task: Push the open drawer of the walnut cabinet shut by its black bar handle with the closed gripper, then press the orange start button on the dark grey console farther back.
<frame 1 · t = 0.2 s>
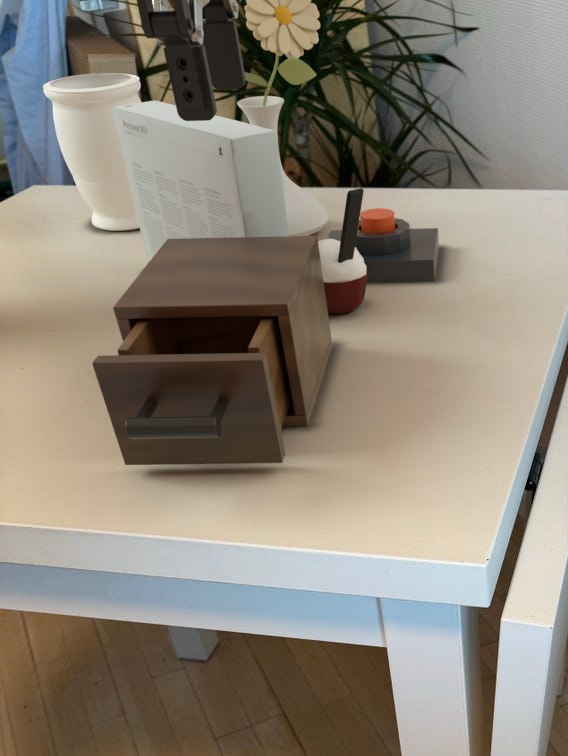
hand: (215, 103, 57), 22 cm above the table, tool pointing down, fingers open, 8 cm apart
start button: (377, 222, 95), point 4 cm above the table, slide at 0.1 cm
cocoa: (340, 311, 89), on the table
console: (381, 265, 98), on the table
flower in vase: (289, 235, 107), on the table
drawer: (206, 384, 67), point 5 cm above the table, slide at 6.0 cm
skincare box: (223, 291, 94), on the table
jar: (128, 222, 112), on the table
cabinet: (247, 384, 77), on the table
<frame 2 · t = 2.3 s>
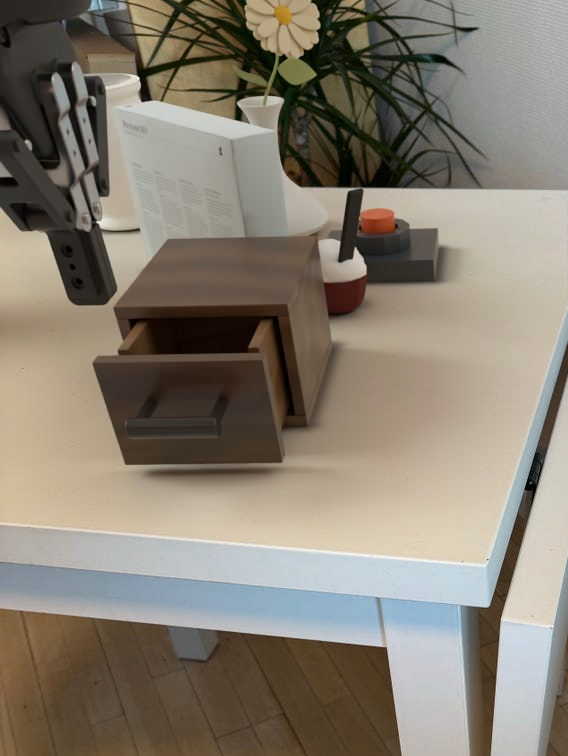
hand: (95, 300, 48), 17 cm above the table, tool pointing down, fingers closed
nothing on the table moved.
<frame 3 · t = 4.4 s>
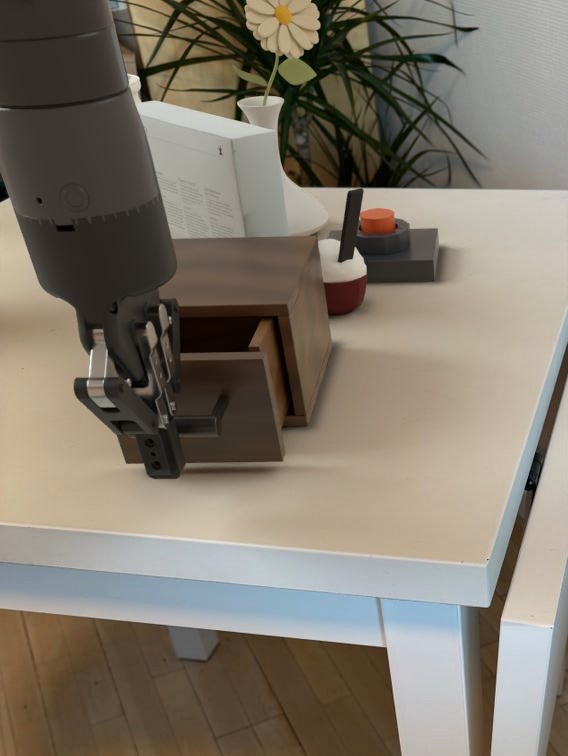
hand: (168, 473, 59), 4 cm above the table, tool pointing down, fingers closed
drawer: (207, 383, 67), point 5 cm above the table, slide at 5.8 cm, touching gripper
everything else where it was.
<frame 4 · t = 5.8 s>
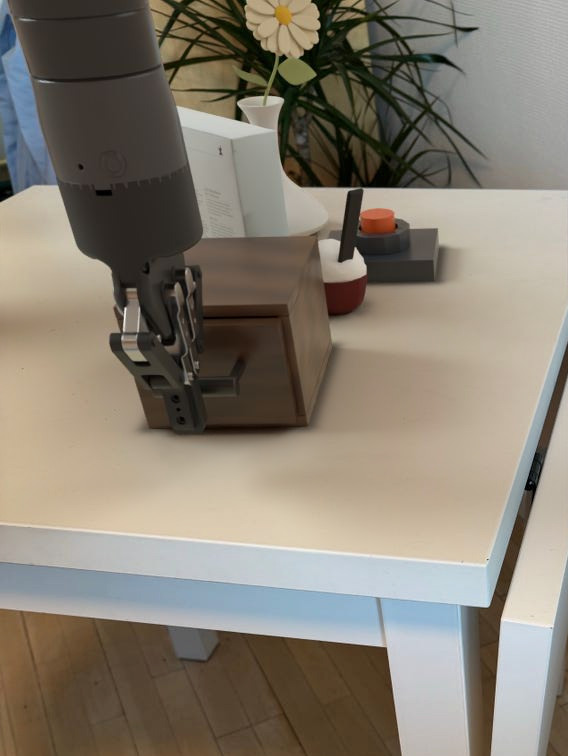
hand: (191, 429, 64), 4 cm above the table, tool pointing down, fingers closed
drawer: (224, 350, 71), point 5 cm above the table, slide at 0.1 cm, touching gripper
everything else where it was.
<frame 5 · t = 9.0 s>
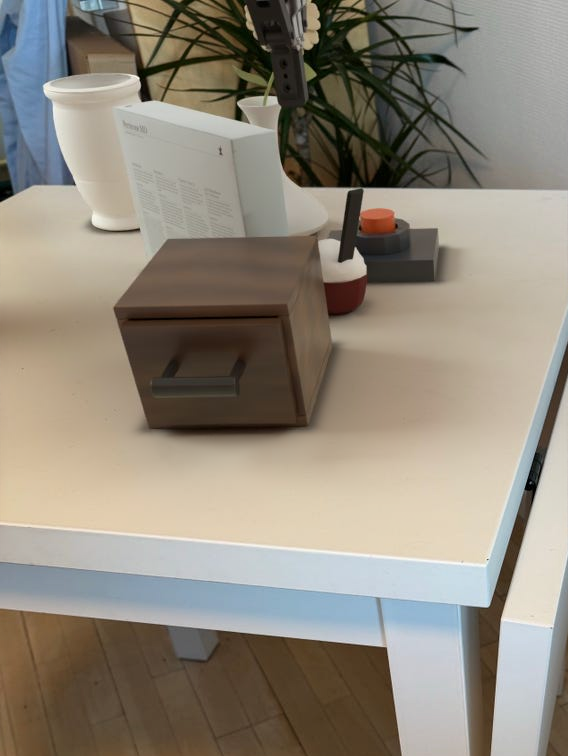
hand: (293, 105, 72), 19 cm above the table, tool pointing down, fingers closed
drawer: (224, 350, 71), point 5 cm above the table, slide at 0.1 cm
everything else where it was.
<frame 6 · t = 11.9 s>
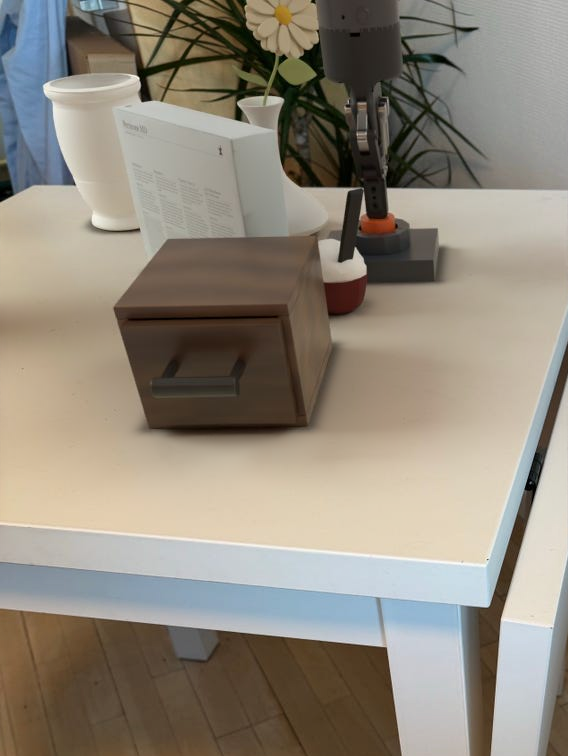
hand: (377, 216, 95), 5 cm above the table, tool pointing down, fingers closed
start button: (378, 225, 95), point 4 cm above the table, slide at -0.2 cm, touching gripper
everything else where it was.
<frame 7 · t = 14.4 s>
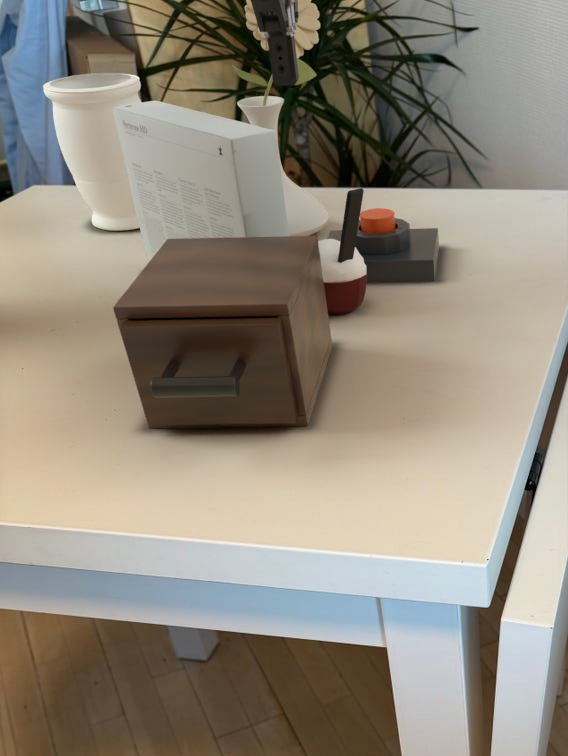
hand: (286, 83, 84), 18 cm above the table, tool pointing down, fingers closed
start button: (377, 222, 95), point 4 cm above the table, slide at 0.1 cm
everything else where it was.
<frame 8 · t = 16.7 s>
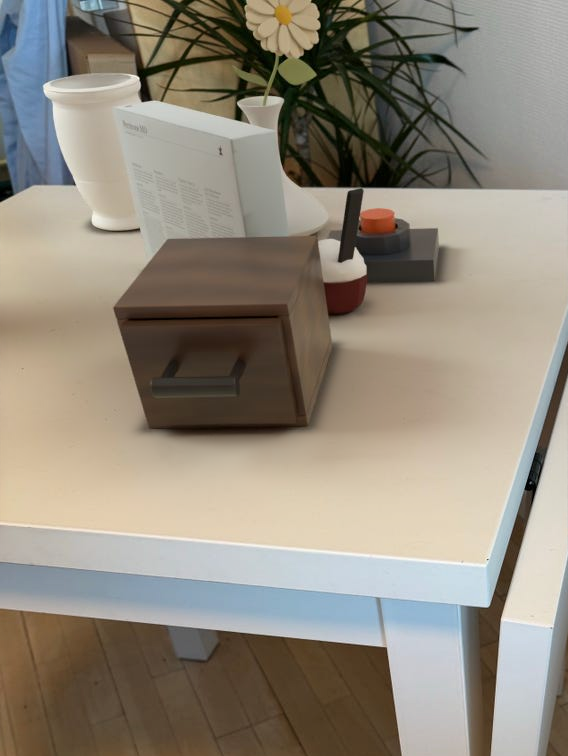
nothing on the table moved.
at the end: drawer slide at 0.1 cm; start button pushed in 1.1 cm at the most during the clip, back to where it started at the end; start button slide at 0.1 cm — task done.
